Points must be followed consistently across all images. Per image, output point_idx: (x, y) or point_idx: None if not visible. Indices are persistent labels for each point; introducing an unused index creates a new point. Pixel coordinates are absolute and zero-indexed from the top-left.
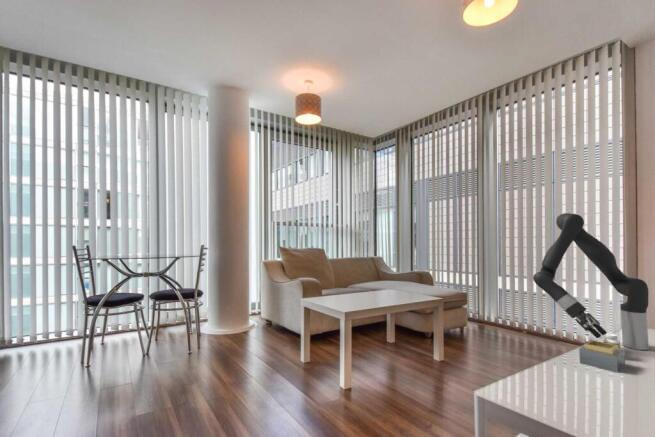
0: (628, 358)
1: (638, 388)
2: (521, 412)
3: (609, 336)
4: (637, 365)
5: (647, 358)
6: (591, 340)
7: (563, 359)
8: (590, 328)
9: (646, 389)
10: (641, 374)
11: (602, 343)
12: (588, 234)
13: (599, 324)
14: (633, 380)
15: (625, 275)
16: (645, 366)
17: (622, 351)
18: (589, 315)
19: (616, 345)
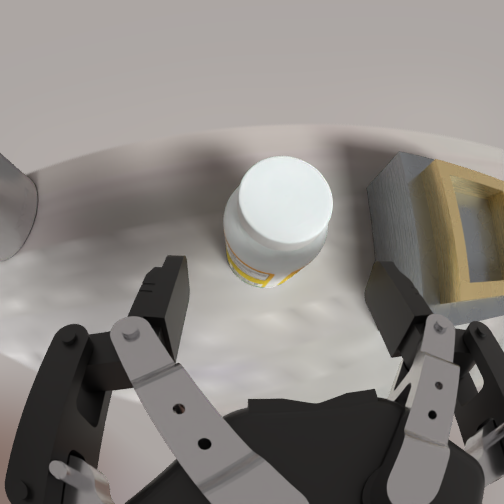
0: (222, 193)
1: (494, 161)
2: None
3: (331, 206)
4: (315, 154)
5: (149, 144)
6: (467, 296)
7: (474, 371)
8: (461, 330)
9: (485, 148)
10: (410, 146)
11: (460, 234)
12: None
13: (122, 324)
14: (470, 166)
15: None
16: (299, 134)
17: (420, 159)
18: (54, 486)
19: (445, 167)
